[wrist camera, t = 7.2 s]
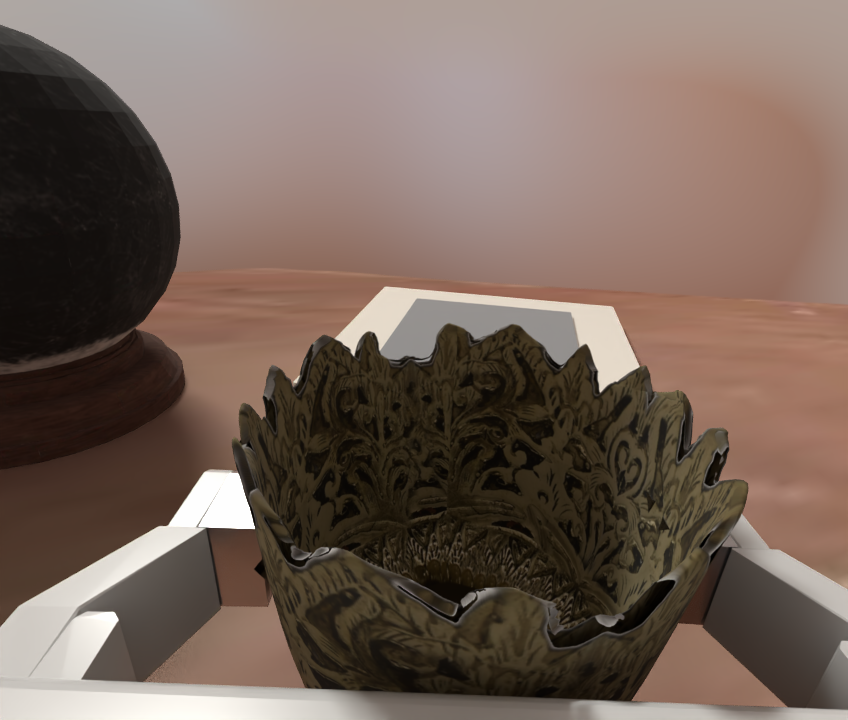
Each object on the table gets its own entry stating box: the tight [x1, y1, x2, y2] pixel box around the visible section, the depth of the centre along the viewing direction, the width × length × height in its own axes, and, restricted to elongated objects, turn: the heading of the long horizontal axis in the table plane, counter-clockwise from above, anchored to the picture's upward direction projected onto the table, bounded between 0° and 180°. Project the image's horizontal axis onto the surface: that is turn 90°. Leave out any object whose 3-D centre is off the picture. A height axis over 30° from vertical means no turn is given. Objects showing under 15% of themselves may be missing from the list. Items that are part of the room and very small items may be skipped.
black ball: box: [0, 25, 185, 469], centre depth 21 cm, size 13×13×15 cm
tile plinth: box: [293, 287, 640, 393], centre depth 29 cm, size 16×16×2 cm
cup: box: [232, 323, 748, 701], centre depth 10 cm, size 8×7×8 cm
